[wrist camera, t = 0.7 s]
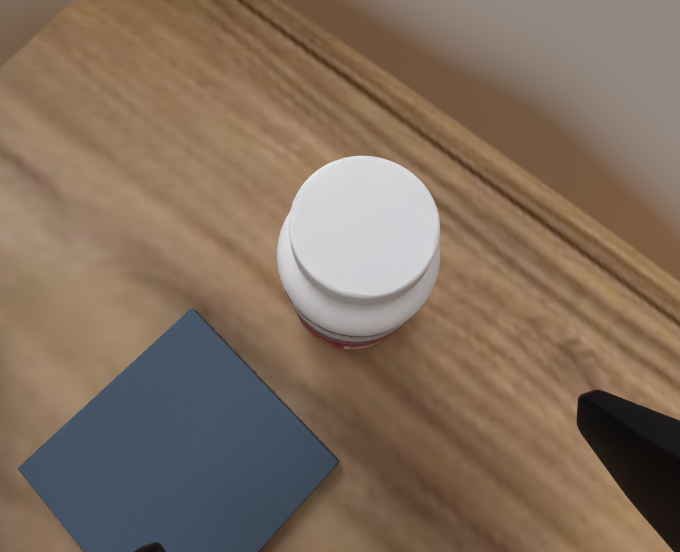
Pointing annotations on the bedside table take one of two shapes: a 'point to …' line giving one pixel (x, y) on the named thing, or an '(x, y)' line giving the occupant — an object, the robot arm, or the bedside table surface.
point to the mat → (180, 454)
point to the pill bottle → (359, 251)
